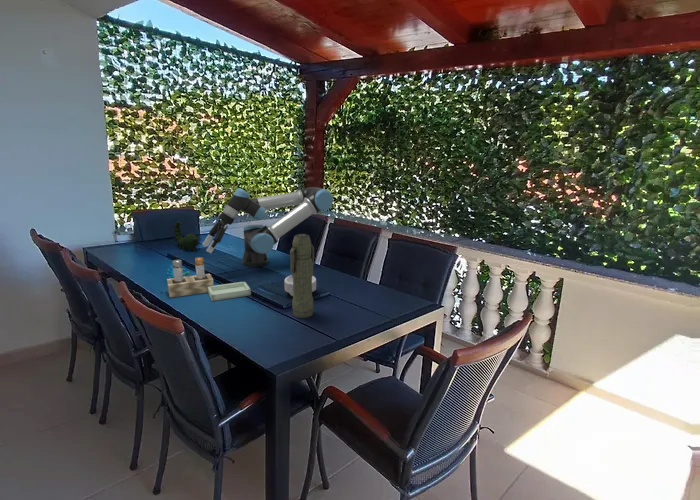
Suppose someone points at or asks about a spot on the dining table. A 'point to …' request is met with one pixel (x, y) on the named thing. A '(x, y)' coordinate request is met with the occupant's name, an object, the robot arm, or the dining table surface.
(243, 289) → the tray
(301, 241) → the thermos
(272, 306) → the dining table surface
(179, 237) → the toy figurine
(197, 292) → the block
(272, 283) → the dining table surface
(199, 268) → the hitch pin
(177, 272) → the grey capped shaker
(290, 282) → the paper bowls
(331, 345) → the dining table surface
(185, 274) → the teal spiky toy
